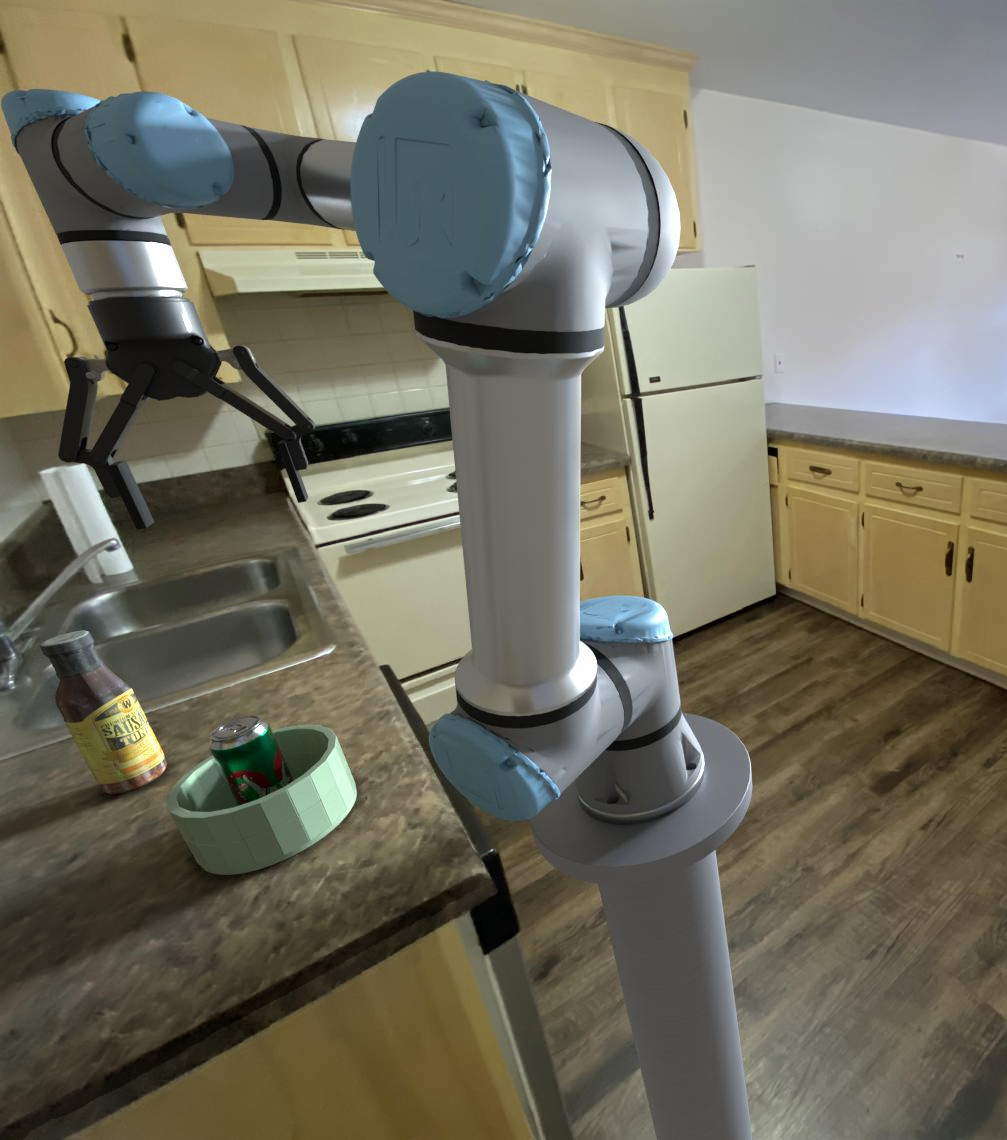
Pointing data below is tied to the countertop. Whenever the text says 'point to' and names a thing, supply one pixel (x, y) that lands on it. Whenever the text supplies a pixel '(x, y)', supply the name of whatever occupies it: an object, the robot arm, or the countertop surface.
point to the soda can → (249, 758)
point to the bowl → (265, 806)
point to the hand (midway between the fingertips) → (228, 512)
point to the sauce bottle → (103, 716)
